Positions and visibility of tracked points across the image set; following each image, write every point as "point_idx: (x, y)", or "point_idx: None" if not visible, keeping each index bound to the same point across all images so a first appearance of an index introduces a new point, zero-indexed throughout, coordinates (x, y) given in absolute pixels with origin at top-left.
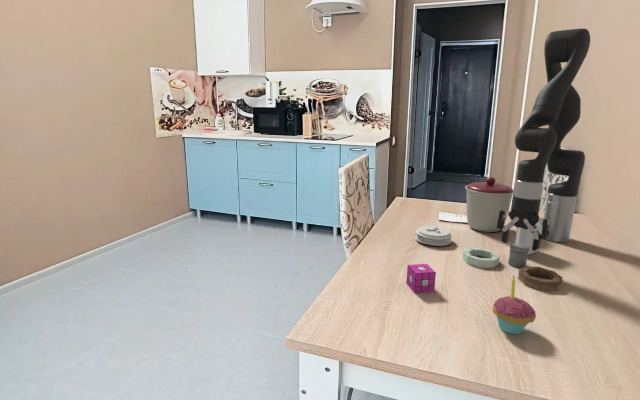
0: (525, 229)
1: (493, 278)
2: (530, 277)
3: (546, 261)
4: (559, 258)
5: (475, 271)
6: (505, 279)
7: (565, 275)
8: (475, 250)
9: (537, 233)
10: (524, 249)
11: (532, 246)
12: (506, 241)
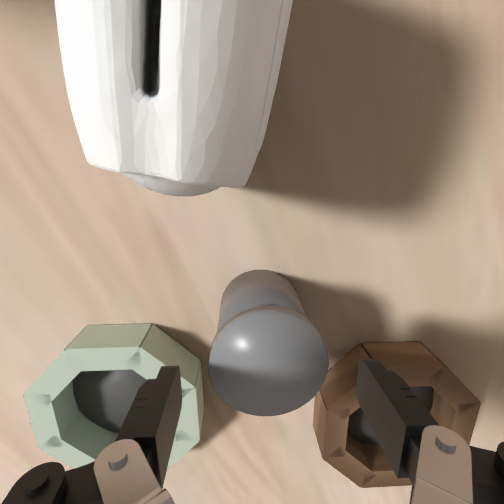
0: (219, 187)
1: (249, 479)
2: (376, 482)
3: (356, 140)
4: (407, 12)
5: (176, 476)
6: (283, 459)
7: (459, 261)
8: (62, 388)
9: (443, 481)
10: (307, 386)
11: (369, 421)
12: (178, 394)
